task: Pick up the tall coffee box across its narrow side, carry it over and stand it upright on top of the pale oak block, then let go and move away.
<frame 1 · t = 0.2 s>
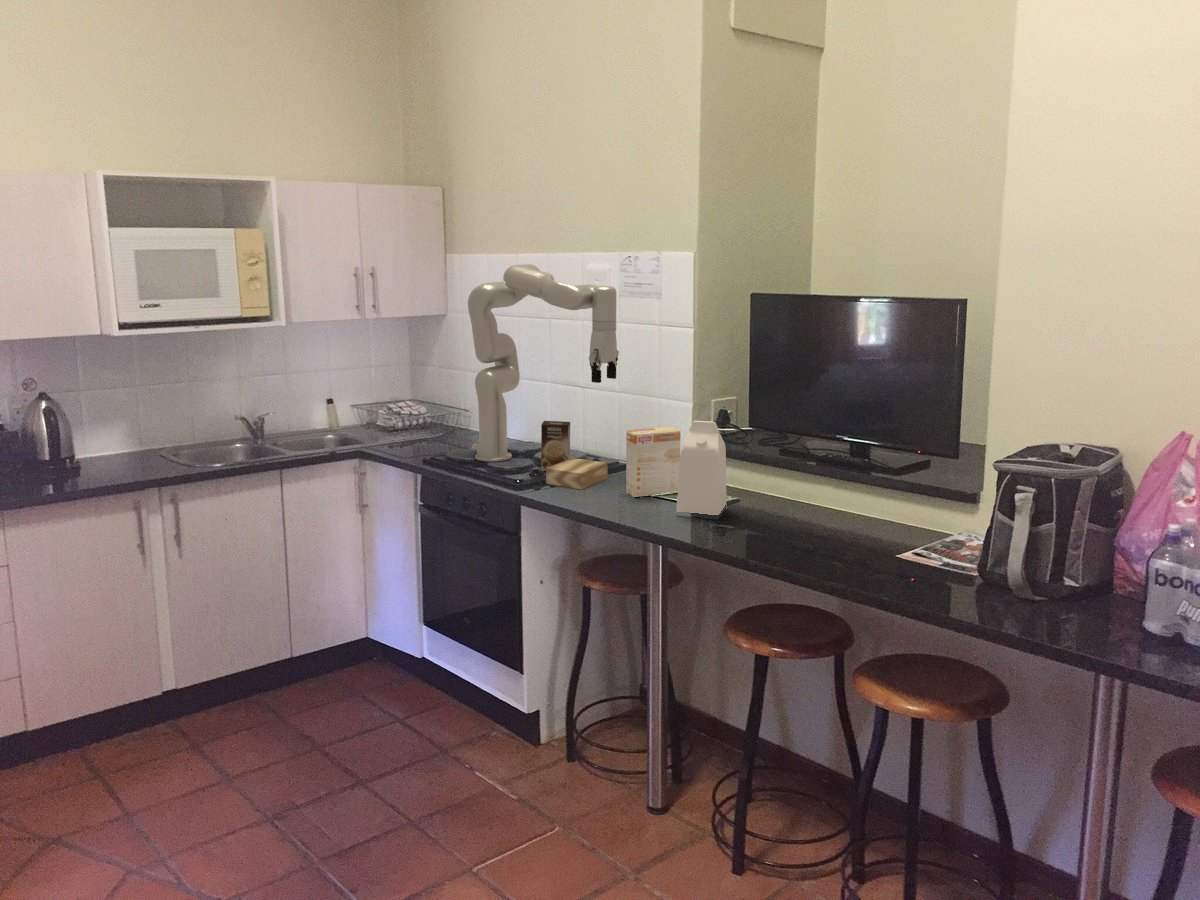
hand: (604, 380, 306), 31 cm above the counter, tool pointing down, fingers open, 9 cm apart
milk: (701, 513, 271), on the counter
coffeecake box: (652, 494, 291), on the counter
oak block: (577, 480, 305), on the counter
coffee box: (555, 471, 318), on the counter
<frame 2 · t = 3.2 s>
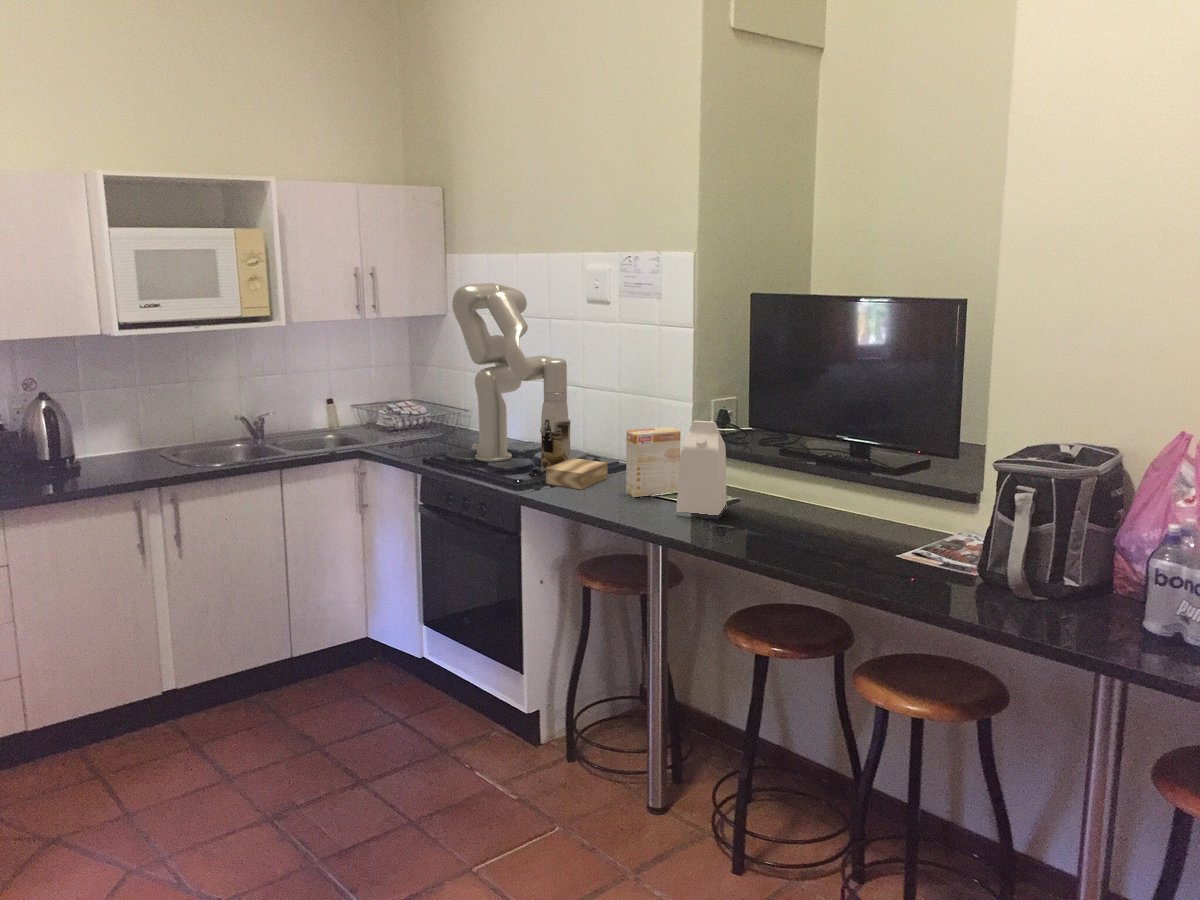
hand: (555, 449, 316), 7 cm above the counter, tool pointing down, fingers closed on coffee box, 8 cm apart
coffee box: (555, 471, 318), on the counter, touching gripper
everything else where it was.
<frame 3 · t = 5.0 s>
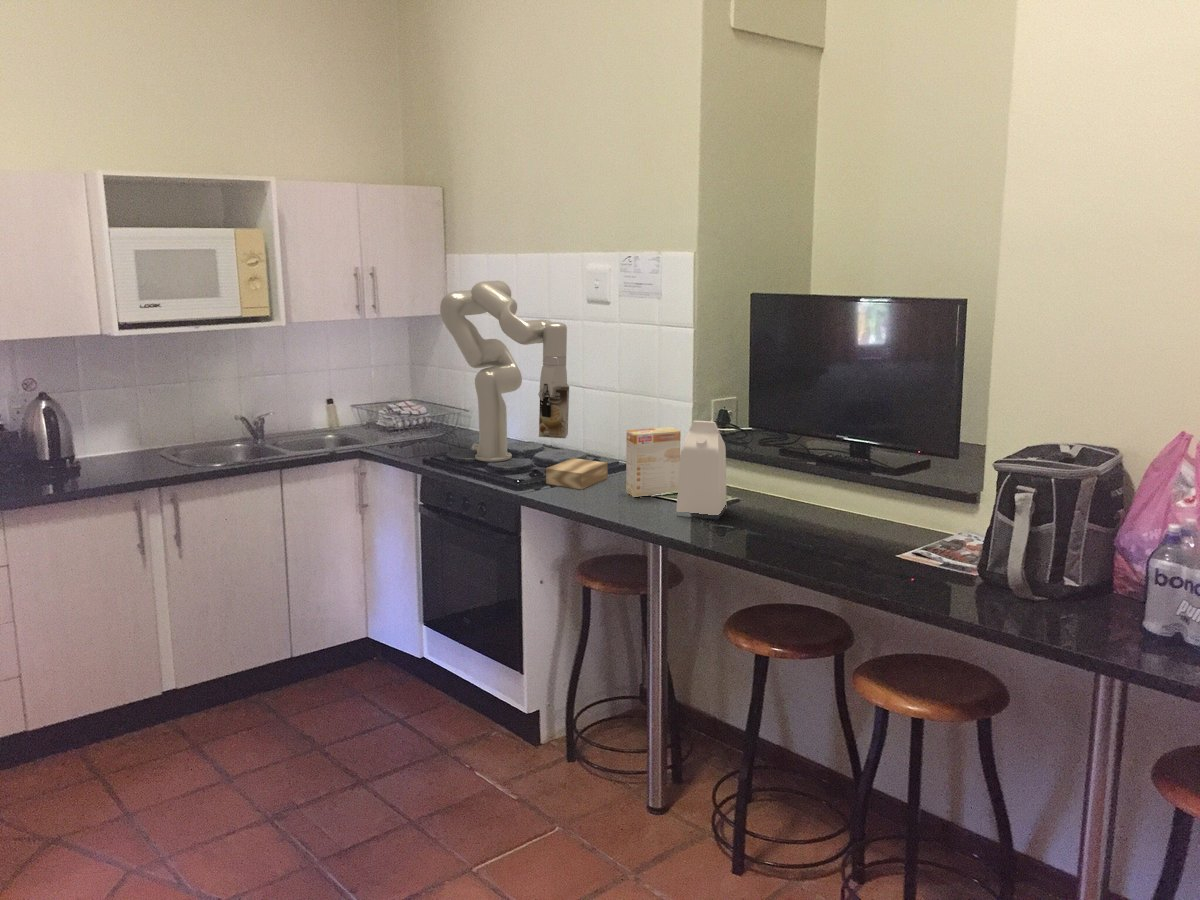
hand: (553, 414, 314), 19 cm above the counter, tool pointing down, fingers closed on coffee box, 8 cm apart
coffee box: (553, 436, 316), point 11 cm above the counter, touching gripper
everything else where it was.
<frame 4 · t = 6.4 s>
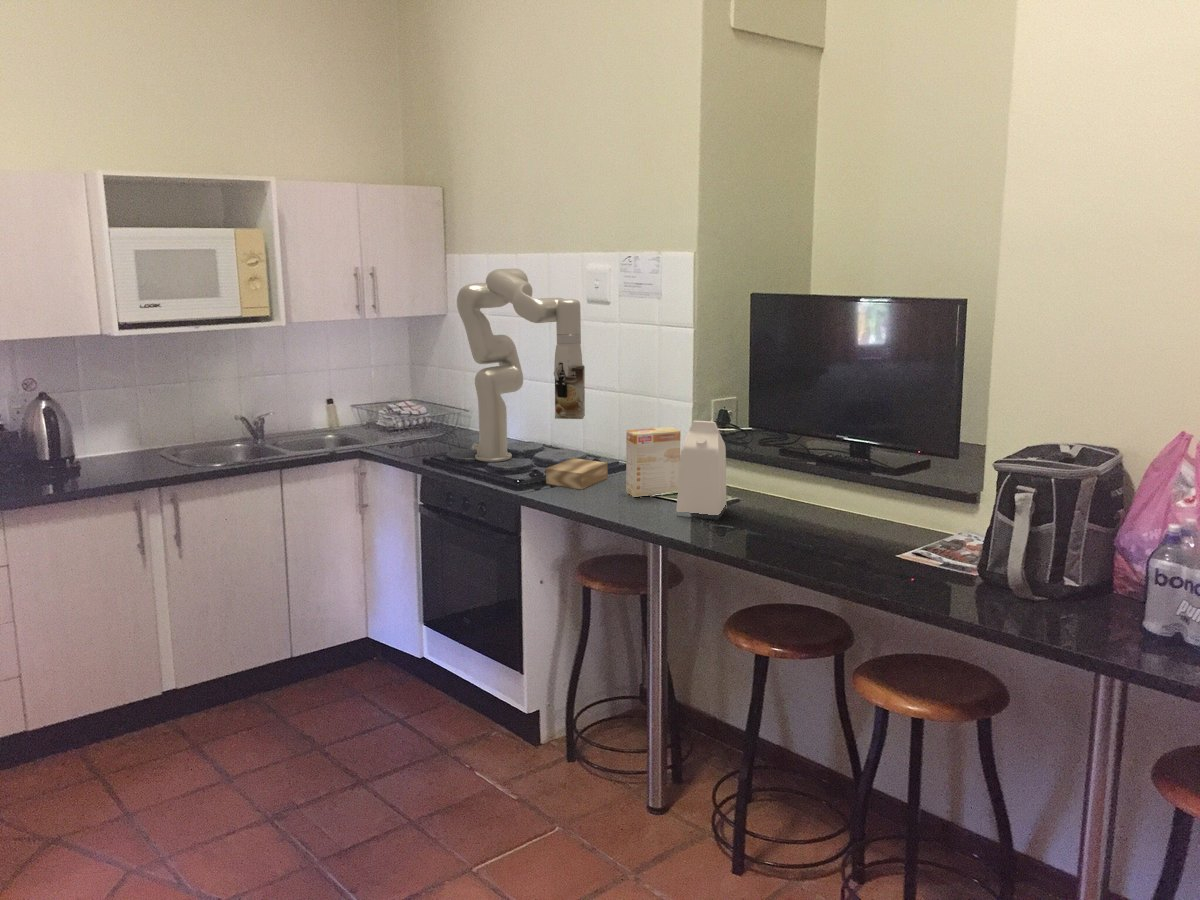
hand: (569, 395, 303), 27 cm above the counter, tool pointing down, fingers closed on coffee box, 8 cm apart
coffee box: (570, 418, 305), point 19 cm above the counter, touching gripper
everything else where it was.
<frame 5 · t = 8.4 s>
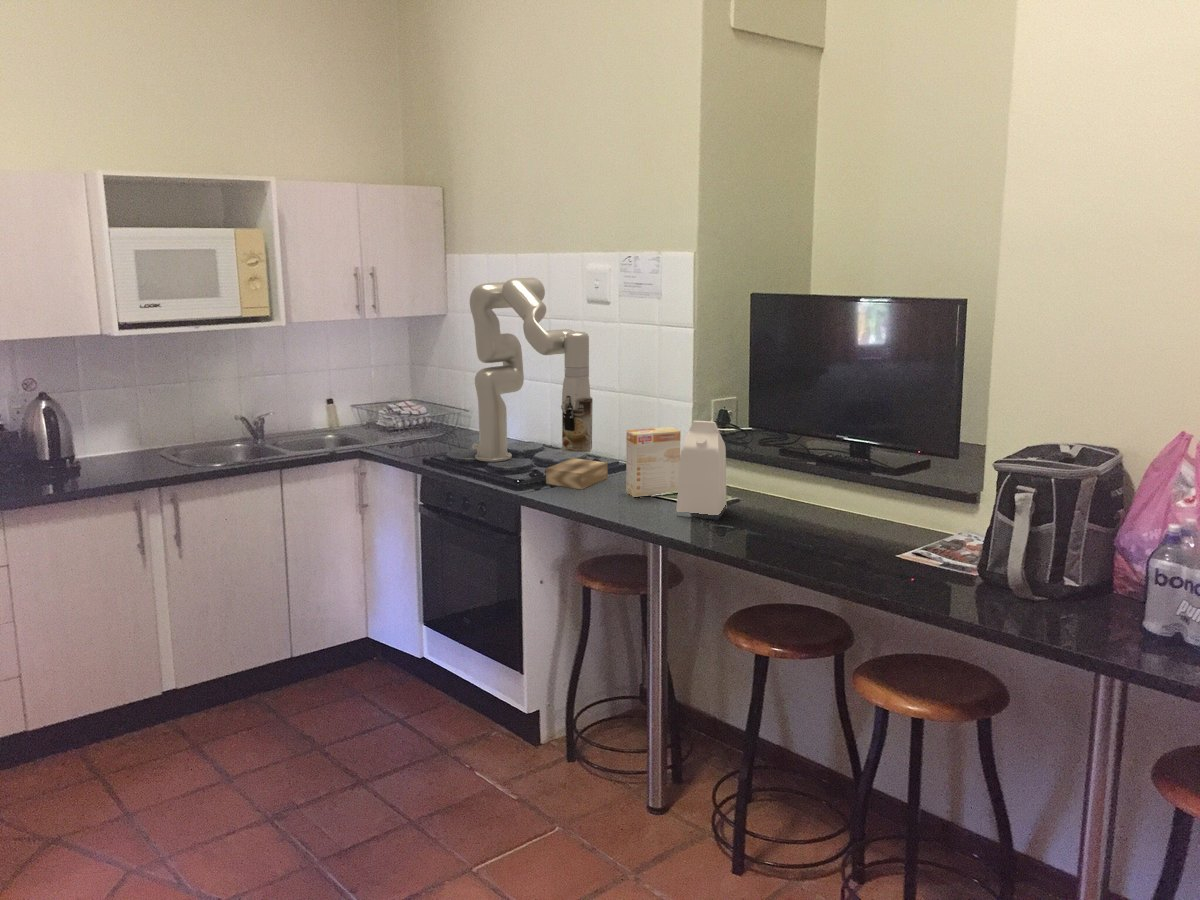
hand: (577, 427, 301), 17 cm above the counter, tool pointing down, fingers closed on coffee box, 8 cm apart
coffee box: (577, 450, 302), point 10 cm above the counter, touching gripper
everything else where it was.
when the fingers open (13 cm above the counter, at t = 9.8 s): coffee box drops 1 cm, resting on oak block.
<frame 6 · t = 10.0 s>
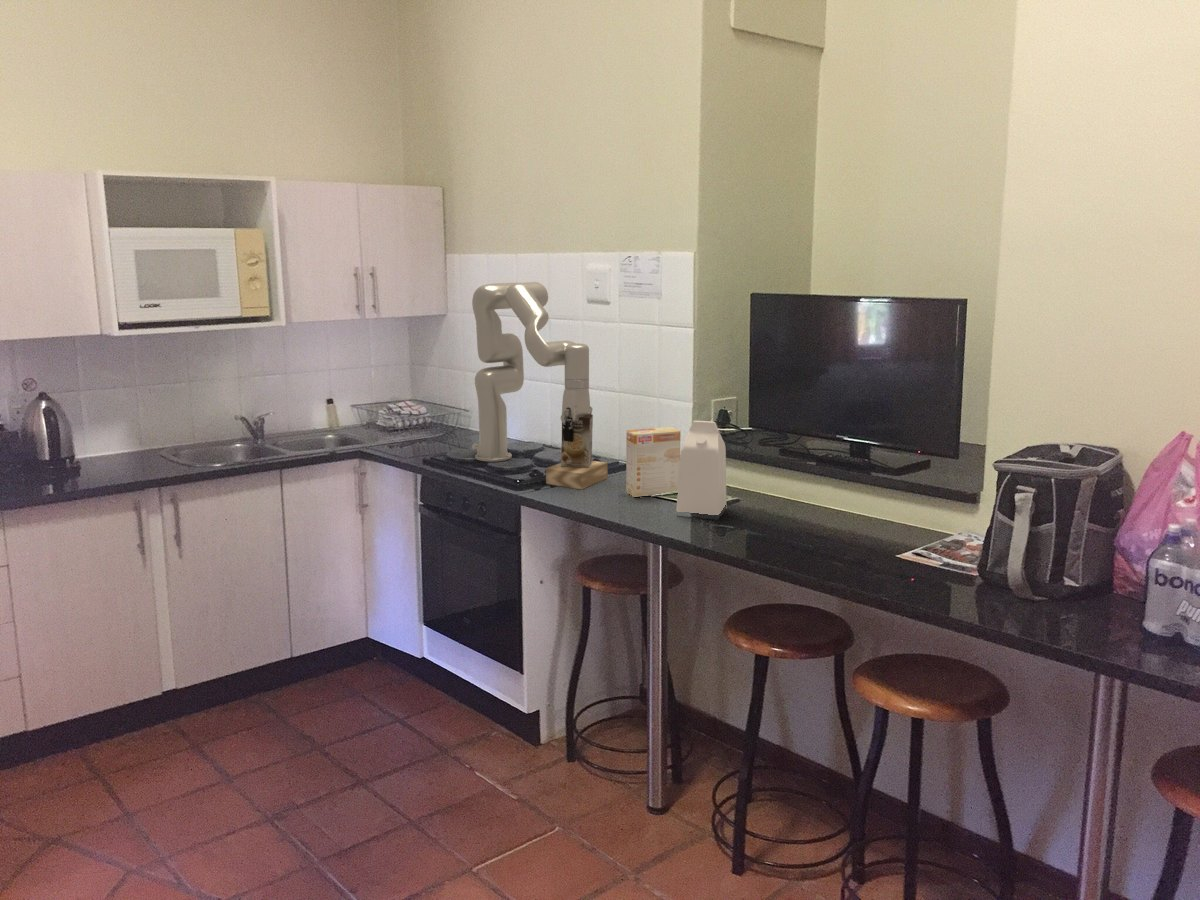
hand: (576, 438, 302), 14 cm above the counter, tool pointing down, fingers open, 9 cm apart
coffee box: (576, 465, 304), point 5 cm above the counter, touching oak block
everything else where it was.
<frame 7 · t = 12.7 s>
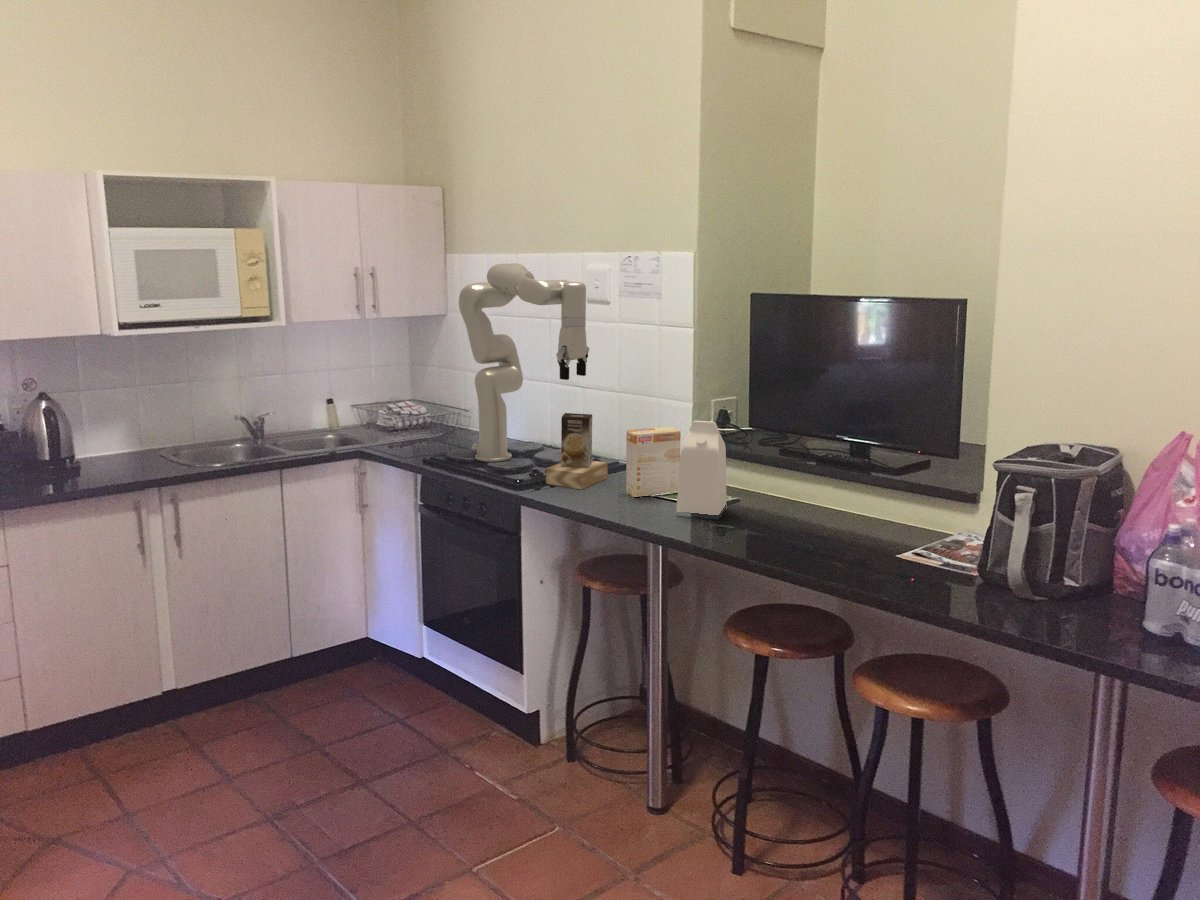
hand: (572, 377, 302), 32 cm above the counter, tool pointing down, fingers open, 9 cm apart
nothing on the counter moved.
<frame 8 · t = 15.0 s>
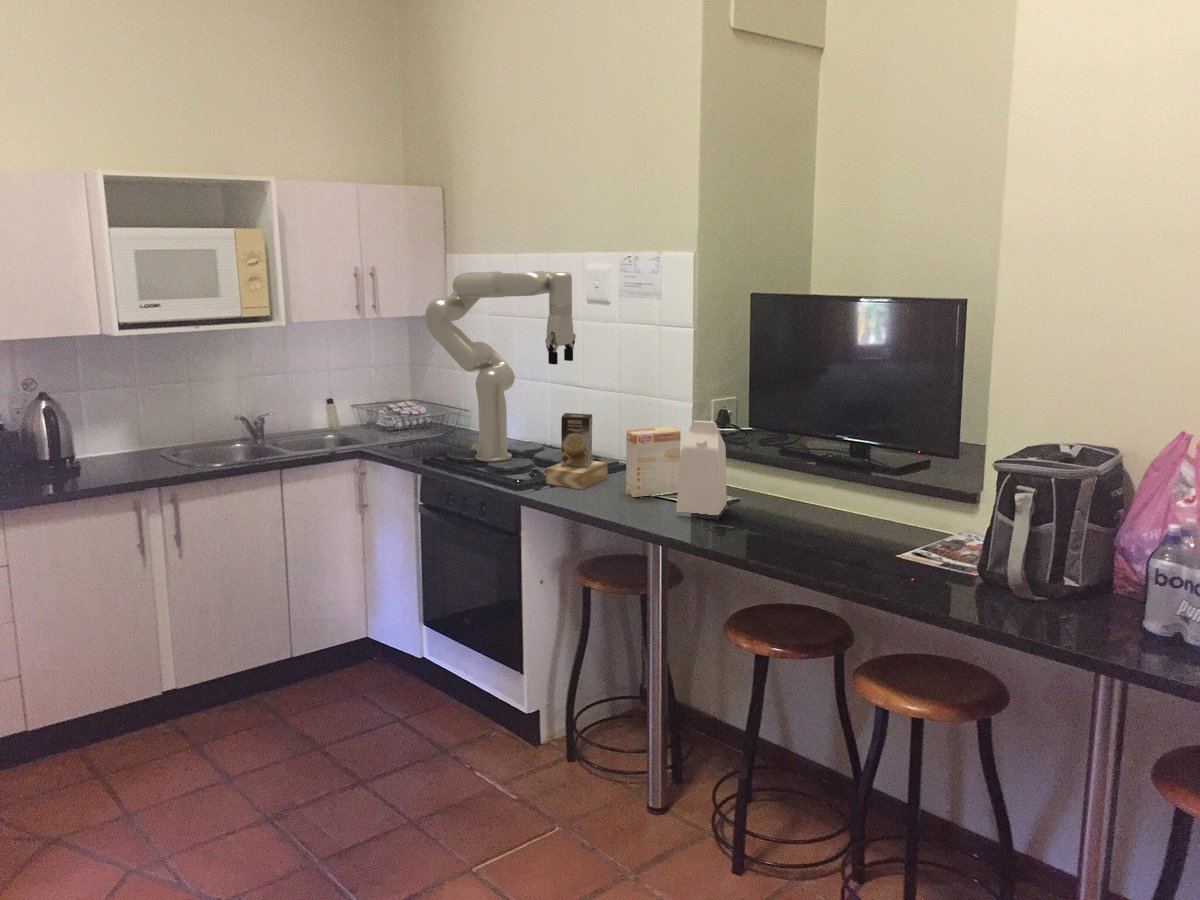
hand: (560, 362, 320), 34 cm above the counter, tool pointing down, fingers open, 9 cm apart
nothing on the counter moved.
at the end: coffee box inside the target area on the oak block (0.4 cm from its centre), point 4.8 cm above the oak block's base; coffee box tilted 0°; the gripper is holding nothing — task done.
